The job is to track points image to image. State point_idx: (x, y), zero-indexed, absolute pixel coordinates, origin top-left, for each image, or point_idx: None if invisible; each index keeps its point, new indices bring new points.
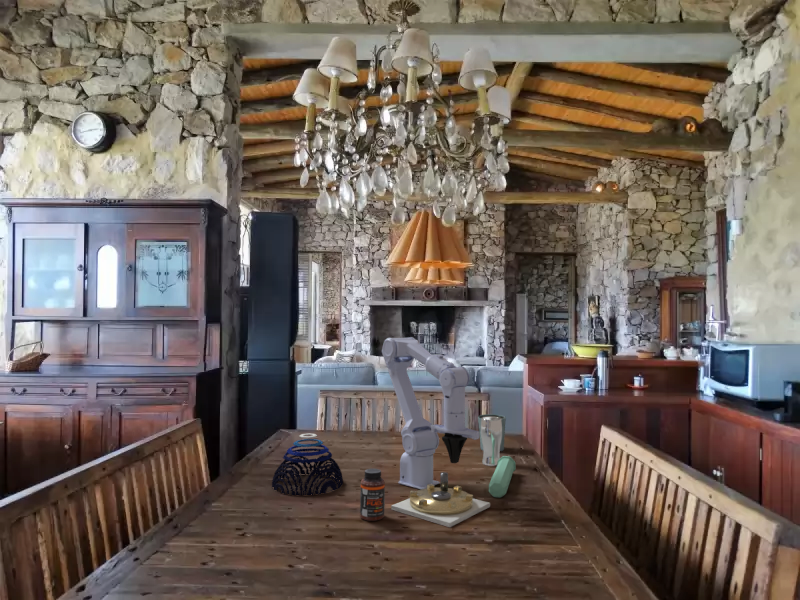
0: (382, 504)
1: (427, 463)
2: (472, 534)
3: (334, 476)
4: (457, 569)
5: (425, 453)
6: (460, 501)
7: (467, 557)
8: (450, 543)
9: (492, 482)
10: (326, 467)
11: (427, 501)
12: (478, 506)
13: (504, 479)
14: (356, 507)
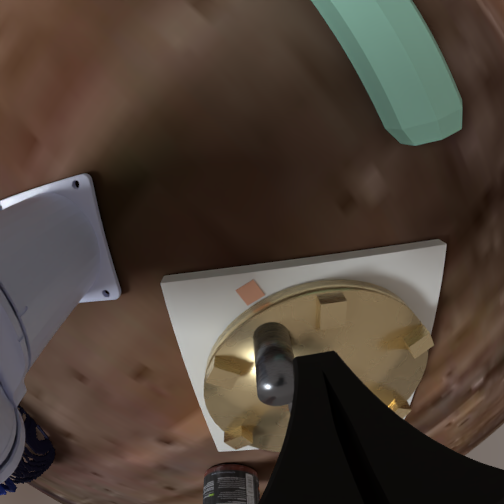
0: (259, 496)
1: (48, 315)
2: (450, 393)
3: None
4: (453, 447)
5: (8, 352)
6: (398, 370)
7: (458, 429)
8: (426, 432)
9: (429, 131)
10: None
11: None
12: (429, 302)
13: (436, 45)
14: (157, 463)
